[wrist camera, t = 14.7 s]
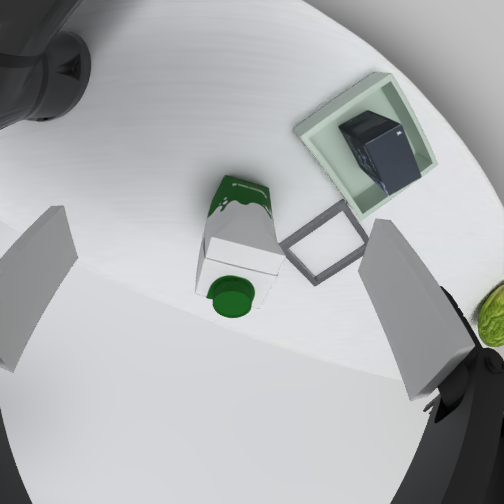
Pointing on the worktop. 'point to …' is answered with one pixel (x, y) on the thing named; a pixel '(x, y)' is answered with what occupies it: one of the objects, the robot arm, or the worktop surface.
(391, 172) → the box
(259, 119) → the worktop surface
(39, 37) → the robot arm
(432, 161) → the bin
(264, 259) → the milk carton
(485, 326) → the lettuce
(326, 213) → the collar
